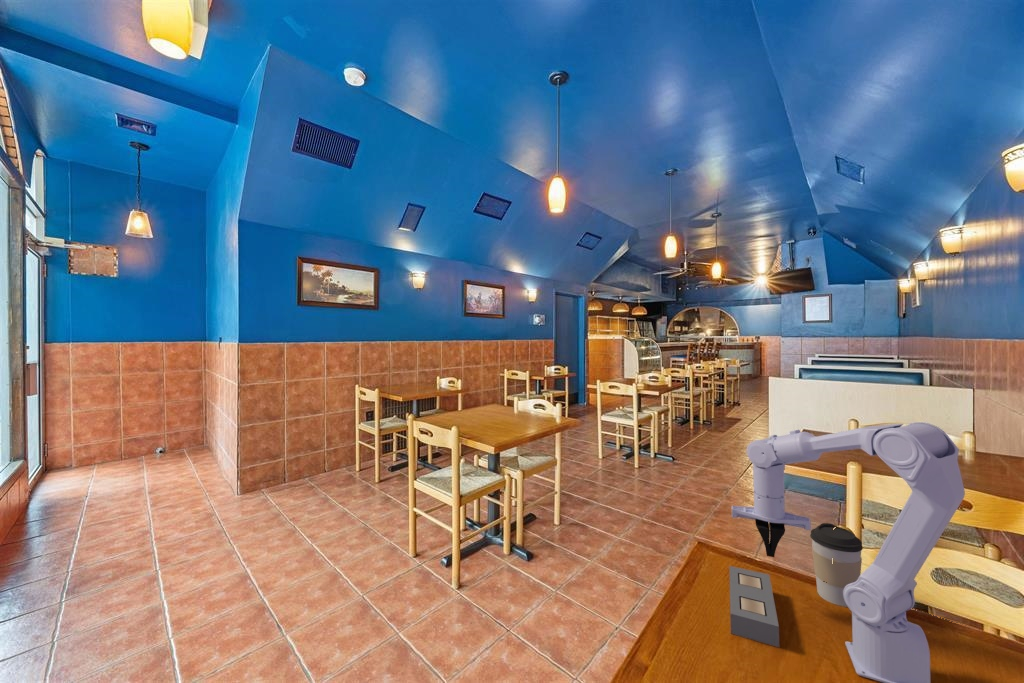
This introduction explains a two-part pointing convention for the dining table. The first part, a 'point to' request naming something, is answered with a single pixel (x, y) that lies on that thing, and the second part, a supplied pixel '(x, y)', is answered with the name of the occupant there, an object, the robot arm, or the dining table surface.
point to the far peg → (750, 581)
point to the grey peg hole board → (749, 622)
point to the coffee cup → (835, 561)
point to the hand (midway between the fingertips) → (770, 554)
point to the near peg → (752, 606)
